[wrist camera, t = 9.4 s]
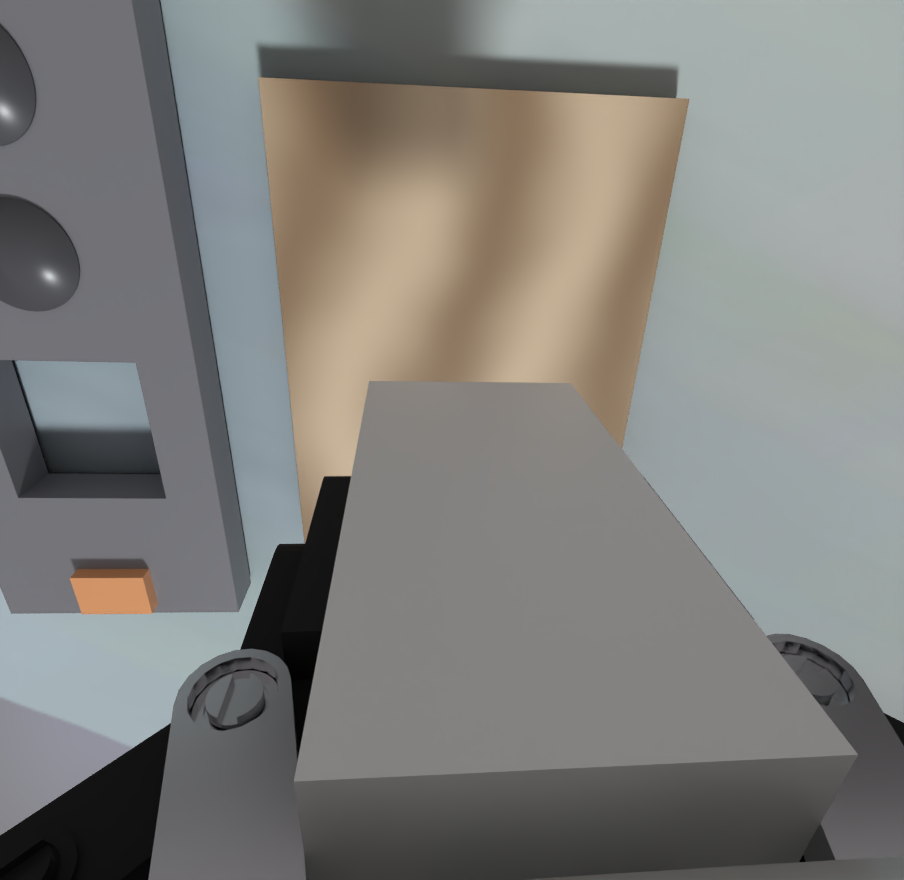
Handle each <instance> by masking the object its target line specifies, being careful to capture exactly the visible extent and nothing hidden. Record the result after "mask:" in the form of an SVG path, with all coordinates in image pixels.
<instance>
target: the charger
mask: <svg viewBox="0 0 904 880" xmlns="http://www.w3.org/2000/svg"><path fill="white" fill-rule="evenodd" d="M857 756H858V754H857V753H856V751H855V750H854V749H853V747H852V746H851V745H850V743H849V742H848V741H847V740H846V738H845V737H844V736H843V734H842V733H841V732H840V731H839V729H838V728H837V727H836V725H835V724H834V723H833V721H832V720H831V719H830V718H829V716H828V715H827V714H826V712H825V711H824V710H823V709H822V707H821V706H820V705H819V703H818V702H817V701H816V700H815V698H814V697H813V696H812V694H811V693H810V692H809V690H808V689H807V688H806V687H805V685H804V684H803V683H802V681H801V680H800V679H799V678H798V676H797V675H796V674H795V672H794V671H793V670H792V668H791V667H790V666H789V665H788V663H787V662H786V661H785V659H784V658H783V657H782V656H781V654H780V653H779V652H778V650H777V649H776V648H775V647H774V645H773V644H772V643H771V641H770V640H769V639H768V637H767V636H766V635H765V634H764V632H763V631H762V630H761V628H760V627H759V626H758V625H757V623H756V622H755V621H754V619H753V618H752V617H751V615H750V614H749V613H748V612H747V610H746V609H745V608H744V606H743V605H742V604H741V603H740V601H739V600H738V599H737V597H736V596H735V595H734V594H733V592H732V591H731V590H730V588H729V587H728V586H727V584H726V583H725V582H724V581H723V579H722V578H721V577H720V575H719V574H718V573H717V572H716V570H715V569H714V568H713V566H712V565H711V564H710V562H709V561H708V560H707V559H706V557H705V556H704V555H703V553H702V552H701V551H700V550H699V548H698V547H697V546H696V544H695V543H694V542H693V540H692V539H691V538H690V537H689V535H688V534H687V533H686V531H685V530H684V529H683V528H682V526H681V525H680V524H679V522H678V521H677V520H676V519H675V517H674V516H673V515H672V513H671V512H670V511H669V509H668V508H667V507H666V506H665V504H664V503H663V502H662V500H661V499H660V498H659V497H658V495H657V494H656V493H655V491H654V490H653V489H652V487H651V486H650V485H649V484H648V482H647V481H646V480H645V478H644V477H643V476H642V475H641V473H640V472H639V471H638V469H637V468H636V467H635V466H634V464H633V463H632V462H631V460H630V459H629V458H628V456H627V455H626V454H625V453H624V451H623V450H622V449H621V447H620V446H619V445H618V444H617V442H616V441H615V440H614V438H613V437H612V436H611V434H610V433H609V432H608V431H607V429H606V428H605V427H604V425H603V424H602V423H601V422H600V420H599V419H598V418H597V416H596V415H595V414H594V413H593V411H592V410H591V409H590V407H589V406H588V405H587V403H586V402H585V401H584V400H583V398H582V397H581V396H580V394H579V393H578V392H577V391H576V389H575V388H574V387H573V385H572V384H571V383H526V382H425V381H369V384H368V389H367V395H366V400H365V405H364V411H363V416H362V421H361V427H360V432H359V437H358V443H357V448H356V453H355V459H354V464H353V469H352V475H351V480H350V485H349V490H348V496H347V501H346V506H345V512H344V517H343V522H342V528H341V533H340V538H339V544H338V549H337V554H336V560H335V565H334V570H333V576H332V581H331V586H330V591H329V597H328V602H327V607H326V613H325V618H324V623H323V629H322V634H321V639H320V645H319V650H318V655H317V661H316V666H315V671H314V677H313V682H312V687H311V693H310V698H309V703H308V708H307V714H306V719H305V724H304V730H303V735H302V740H301V746H300V751H299V756H298V762H297V767H296V772H295V778H294V787H295V794H296V801H297V808H298V815H299V822H300V829H301V836H302V843H303V850H304V855H305V862H306V869H307V876H308V880H525V879H540V878H556V877H571V876H586V875H602V874H617V873H633V872H649V871H664V870H680V869H696V868H712V867H728V866H744V865H761V864H778V863H795V862H799V861H800V859H801V857H802V856H803V854H804V852H805V850H806V848H807V847H808V845H809V843H810V841H811V839H812V837H813V836H814V834H815V832H816V830H817V828H818V827H819V825H820V823H821V821H822V819H823V818H824V816H825V814H826V812H827V810H828V808H829V807H830V805H831V803H832V801H833V799H834V798H835V796H836V794H837V792H838V790H839V789H840V787H841V785H842V783H843V781H844V779H845V778H846V776H847V774H848V772H849V770H850V769H851V767H852V765H853V763H854V761H855V760H856V758H857Z"/></svg>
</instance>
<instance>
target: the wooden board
mask: <svg viewBox="0 0 904 880" xmlns="http://www.w3.org/2000/svg"><path fill="white" fill-rule="evenodd" d="M258 78H259V88H260V99H261V109H262V119H263V129H264V139H265V149H266V159H267V169H268V179H269V190H270V200H271V210H272V220H273V230H274V240H275V250H276V260H277V270H278V281H279V291H280V301H281V311H282V321H283V331H284V341H285V351H286V361H287V371H288V382H289V392H290V402H291V412H292V422H293V432H294V442H295V452H296V462H297V473H298V483H299V493H300V503H301V513H302V523H303V533H304V543H305V542H306V539H307V535H308V531H309V528H310V524H311V520H312V517H313V513H314V510H315V506H316V502H317V499H318V495H319V492H320V488H321V484H322V481H323V478H324V476H351V475H352V469H353V464H354V459H355V453H356V448H357V443H358V437H359V432H360V427H361V421H362V416H363V411H364V405H365V400H366V395H367V389H368V384H369V381H425V382H526V383H571V384H572V385H573V387H574V388H575V389H576V391H577V392H578V393H579V394H580V396H581V397H582V398H583V400H584V401H585V402H586V403H587V405H588V406H589V407H590V409H591V410H592V411H593V413H594V414H595V415H596V416H597V418H598V419H599V420H600V422H601V423H602V424H603V425H604V427H605V428H606V429H607V431H608V432H609V433H610V434H611V436H612V437H613V438H614V440H615V441H616V442H617V444H618V445H619V446H620V447H621V449H622V446H623V440H624V435H625V430H626V425H627V420H628V415H629V409H630V404H631V399H632V394H633V389H634V383H635V378H636V373H637V368H638V363H639V358H640V352H641V347H642V342H643V337H644V332H645V326H646V321H647V316H648V311H649V306H650V301H651V295H652V290H653V285H654V280H655V275H656V269H657V264H658V259H659V254H660V249H661V244H662V238H663V233H664V228H665V223H666V218H667V212H668V207H669V202H670V197H671V192H672V186H673V181H674V176H675V171H676V166H677V161H678V155H679V150H680V145H681V140H682V135H683V129H684V124H685V119H686V114H687V109H688V104H689V99H680V98H660V97H640V96H620V95H600V94H581V93H561V92H541V91H521V90H501V89H481V88H461V87H441V86H421V85H402V84H382V83H362V82H342V81H322V80H302V79H282V78H262V77H258Z"/></svg>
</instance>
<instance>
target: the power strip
mask: <svg viewBox="0 0 904 880" xmlns="http://www.w3.org/2000/svg"><path fill="white" fill-rule="evenodd" d="M12 360H27V361H78V362H130V363H136V366H137V370H138V375H139V379H140V384H141V388H142V392H143V397H144V401H145V406H146V410H147V415H148V419H149V424H150V428H151V433H152V437H153V442H154V446H155V450H156V455H157V459H158V464H159V468H160V473H161V474H50V473H48V470H47V467H46V464H45V461H44V458H43V455H42V452H41V449H40V446H39V443H38V440H37V437H36V434H35V431H34V427H33V424H32V421H31V418H30V415H29V412H28V409H27V406H26V403H25V400H24V397H23V394H22V391H21V388H20V385H19V382H18V378H17V375H16V372H15V369H14V366H13V363H12ZM250 583H251V581H250V575H249V568H248V562H247V556H246V549H245V543H244V537H243V530H242V524H241V517H240V511H239V505H238V498H237V492H236V486H235V479H234V473H233V467H232V460H231V454H230V448H229V441H228V435H227V428H226V422H225V416H224V409H223V403H222V397H221V390H220V384H219V378H218V371H217V365H216V359H215V352H214V346H213V340H212V333H211V327H210V320H209V314H208V308H207V301H206V295H205V289H204V282H203V276H202V270H201V263H200V257H199V251H198V244H197V238H196V232H195V225H194V219H193V212H192V206H191V200H190V193H189V187H188V181H187V174H186V168H185V162H184V155H183V149H182V143H181V136H180V130H179V123H178V117H177V111H176V104H175V98H174V92H173V85H172V79H171V73H170V66H169V60H168V54H167V47H166V41H165V35H164V28H163V22H162V15H161V9H160V3H159V0H0V588H1V590H2V592H3V595H4V597H5V600H6V602H7V604H8V607H9V609H10V612H11V613H82V614H152V613H153V612H239V610H240V607H241V605H242V603H243V600H244V598H245V595H246V593H247V591H248V588H249V586H250Z"/></svg>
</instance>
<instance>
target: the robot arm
mask: <svg viewBox="0 0 904 880" xmlns="http://www.w3.org/2000/svg"><path fill="white" fill-rule="evenodd" d="M350 480H351V476H324V478H323V481H322V484H321V488H320V492H319V495H318V499H317V502H316V506H315V510H314V513H313V517H312V520H311V524H310V528H309V531H308V535H307V539H306V542H305V544H279V545H278V546H277V548H276V550H275V552H274V555H273V558H272V561H271V564H270V567H269V569H268V572H267V575H266V578H265V581H264V584H263V587H262V589H261V592H260V595H259V598H258V601H257V604H256V607H255V609H254V612H253V615H252V618H251V621H250V624H249V626H248V629H247V632H246V635H245V638H244V641H243V644H242V646H241V649H240V650H235V651H231V652H228V653H225V654H222V655H219V656H217V657H215V658H213V659H211V660H210V661H208V662H206V663H204V664H202V665H201V666H200V667H199V668H198V669H197V670H195V671H194V672H193V673H192V674H191V675H190V676H189V677H188V678H187V679H186V681H185V682H184V683H183V685H182V686H181V688H180V689H179V691H178V694H177V697H176V700H175V703H174V706H173V713H172V720H171V723H170V724H169V725H167V726H166V727H164V728H163V729H161V730H160V731H158V732H157V733H155V734H154V735H152V736H151V737H149V738H148V739H146V740H145V741H143V742H142V743H140V744H139V745H137V746H135V747H134V748H132V749H131V750H129V751H128V752H126V753H125V754H123V755H122V756H120V757H119V758H117V759H116V760H114V761H113V762H111V763H110V764H108V765H107V766H105V767H104V768H102V769H101V770H99V771H98V772H96V773H95V774H93V775H92V776H90V777H88V778H87V779H85V780H84V781H82V782H81V783H80V784H78V785H76V786H75V787H73V788H72V789H70V790H69V791H67V792H66V793H64V794H63V795H61V796H60V797H58V798H57V799H55V800H54V801H52V802H51V803H49V804H48V805H46V806H45V807H43V808H42V809H40V810H38V811H37V812H36V813H34V814H32V815H31V816H29V817H28V818H26V819H25V820H23V821H22V822H20V823H19V824H17V825H16V826H14V827H13V828H11V829H10V830H8V831H7V832H5V833H4V834H2V835H1V836H0V880H308V876H307V869H306V862H305V855H304V850H303V843H302V836H301V829H300V822H299V815H298V808H297V801H296V794H295V787H294V778H295V772H296V767H297V762H298V756H299V751H300V746H301V740H302V735H303V730H304V724H305V719H306V714H307V708H308V703H309V698H310V693H311V687H312V682H313V677H314V671H315V666H316V661H317V655H318V650H319V645H320V639H321V634H322V629H323V623H324V618H325V613H326V607H327V602H328V597H329V591H330V586H331V581H332V576H333V570H334V565H335V560H336V554H337V549H338V544H339V538H340V533H341V528H342V522H343V517H344V512H345V506H346V501H347V496H348V490H349V485H350ZM645 480H646V479H645ZM646 481H647V480H646ZM648 484H649V483H648ZM649 485H650V484H649ZM652 489H653V488H652ZM653 490H654V489H653ZM655 493H656V492H655ZM656 494H657V493H656ZM658 497H659V496H658ZM659 498H660V497H659ZM662 502H663V501H662ZM663 503H664V502H663ZM665 506H666V505H665ZM666 507H667V506H666ZM669 511H670V510H669ZM670 512H671V511H670ZM672 515H673V514H672ZM673 516H674V515H673ZM675 519H676V518H675ZM676 520H677V519H676ZM677 521H678V520H677ZM679 524H680V523H679ZM680 525H681V524H680ZM682 528H683V527H682ZM683 529H684V528H683ZM686 533H687V532H686ZM687 534H688V533H687ZM689 537H690V536H689ZM690 538H691V537H690ZM693 542H694V541H693ZM694 543H695V542H694ZM696 546H697V545H696ZM697 547H698V546H697ZM699 550H700V549H699ZM700 551H701V550H700ZM703 555H704V554H703ZM704 556H705V555H704ZM706 559H707V558H706ZM707 560H708V559H707ZM710 564H711V563H710ZM711 565H712V564H711ZM713 568H714V567H713ZM714 569H715V568H714ZM716 572H717V571H716ZM717 573H718V572H717ZM718 574H719V573H718ZM720 577H721V576H720ZM721 578H722V577H721ZM723 581H724V580H723ZM724 582H725V581H724ZM727 586H728V585H727ZM728 587H729V586H728ZM730 590H731V589H730ZM731 591H732V590H731ZM733 594H734V593H733ZM734 595H735V594H734ZM735 596H736V595H735ZM737 599H738V598H737ZM738 600H739V599H738ZM740 603H741V602H740ZM741 604H742V603H741ZM742 605H743V604H742ZM744 608H745V607H744ZM745 609H746V608H745ZM747 612H748V611H747ZM748 613H749V612H748ZM751 617H752V616H751ZM752 618H753V617H752ZM767 637H768V639H769V640H770V641H771V643H772V644H773V645H774V647H775V648H776V649H777V650H778V652H779V653H780V654H781V656H782V657H783V658H784V659H785V661H786V662H787V663H788V665H789V666H790V667H791V668H792V670H793V671H794V672H795V674H796V675H797V676H798V678H799V679H800V680H801V681H802V683H803V684H804V685H805V687H806V688H807V689H808V690H809V692H810V693H811V694H812V696H813V697H814V698H815V700H816V701H817V702H818V703H819V705H820V706H821V707H822V709H823V710H824V711H825V712H826V714H827V715H828V716H829V718H830V719H831V720H832V721H833V723H834V724H835V725H836V727H837V728H838V729H839V731H840V732H841V733H842V734H843V736H844V737H845V738H846V740H847V741H848V742H849V743H850V745H851V746H852V747H853V749H854V750H855V751H856V753H857V754H858V756H857V758H856V760H855V761H854V763H853V765H852V767H851V769H850V770H849V772H848V774H847V776H846V778H845V779H844V781H843V783H842V785H841V787H840V789H839V790H838V792H837V794H836V796H835V798H834V799H833V801H832V803H831V805H830V807H829V808H828V810H827V812H826V814H825V816H824V818H823V819H822V821H821V823H820V825H819V827H818V828H817V830H816V832H815V834H814V836H813V837H812V839H811V841H810V843H809V845H808V847H807V848H806V850H805V852H804V854H803V856H802V857H801V859H800V861H799V862H795V863H778V864H761V865H744V866H728V867H712V868H696V869H680V870H664V871H649V872H633V873H617V874H602V875H586V876H571V877H556V878H540V879H525V880H904V723H903V722H901V721H899V720H897V719H895V718H893V717H891V716H889V715H887V714H885V713H883V711H882V710H881V708H880V706H879V705H878V703H877V701H876V700H875V698H874V696H873V695H872V693H871V692H870V690H869V688H868V687H867V685H866V683H865V682H864V680H863V679H862V678H861V676H860V675H859V674H858V673H857V671H856V670H855V669H854V668H853V667H852V666H851V665H850V664H849V663H848V662H847V661H845V660H844V659H843V658H842V657H841V656H840V655H838V654H836V653H835V652H833V651H831V650H830V649H828V648H826V647H825V646H823V645H821V644H818V643H816V642H814V641H811V640H809V639H807V638H803V637H799V636H794V635H790V634H772V635H768V636H767Z"/></svg>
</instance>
